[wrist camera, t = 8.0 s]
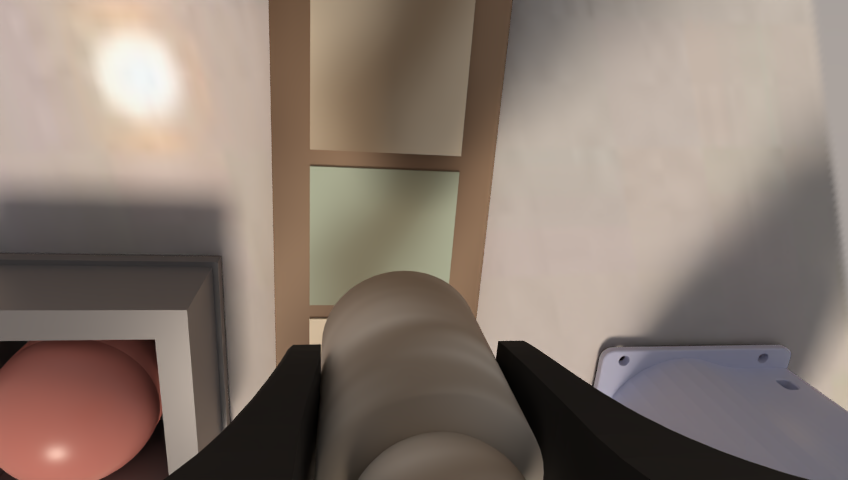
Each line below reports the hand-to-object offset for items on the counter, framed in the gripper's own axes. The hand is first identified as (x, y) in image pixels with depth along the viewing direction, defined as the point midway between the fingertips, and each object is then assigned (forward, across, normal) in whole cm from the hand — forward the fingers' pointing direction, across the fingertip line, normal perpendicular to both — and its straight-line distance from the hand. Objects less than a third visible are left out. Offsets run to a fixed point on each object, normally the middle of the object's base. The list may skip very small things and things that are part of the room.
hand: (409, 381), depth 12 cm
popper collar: (+9, +10, +5) cm, 14 cm away
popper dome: (+8, +10, +5) cm, 14 cm away
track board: (+9, 0, +3) cm, 10 cm away
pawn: (+2, 0, 0) cm, 2 cm away
